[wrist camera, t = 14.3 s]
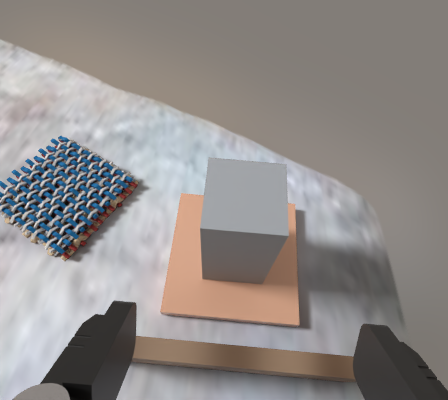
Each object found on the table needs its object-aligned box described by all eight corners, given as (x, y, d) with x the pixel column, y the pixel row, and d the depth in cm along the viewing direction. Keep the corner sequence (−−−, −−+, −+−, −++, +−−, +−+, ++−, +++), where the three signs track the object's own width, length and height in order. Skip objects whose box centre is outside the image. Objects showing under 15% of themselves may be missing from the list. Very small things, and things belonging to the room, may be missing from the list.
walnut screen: (107, 359, 24) (79, 352, 19) (111, 342, 25) (85, 331, 19) (343, 381, 24) (381, 381, 19) (342, 364, 25) (378, 359, 19)
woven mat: (67, 269, 28) (58, 262, 26) (-13, 210, 30) (-26, 199, 29) (145, 187, 32) (141, 175, 31) (69, 141, 35) (62, 128, 33)
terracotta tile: (161, 314, 26) (160, 312, 25) (181, 198, 31) (181, 193, 30) (296, 327, 26) (299, 325, 25) (292, 208, 31) (295, 204, 30)
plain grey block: (202, 279, 26) (200, 228, 18) (208, 222, 29) (209, 154, 20) (262, 284, 26) (288, 235, 18) (262, 227, 29) (286, 161, 20)
